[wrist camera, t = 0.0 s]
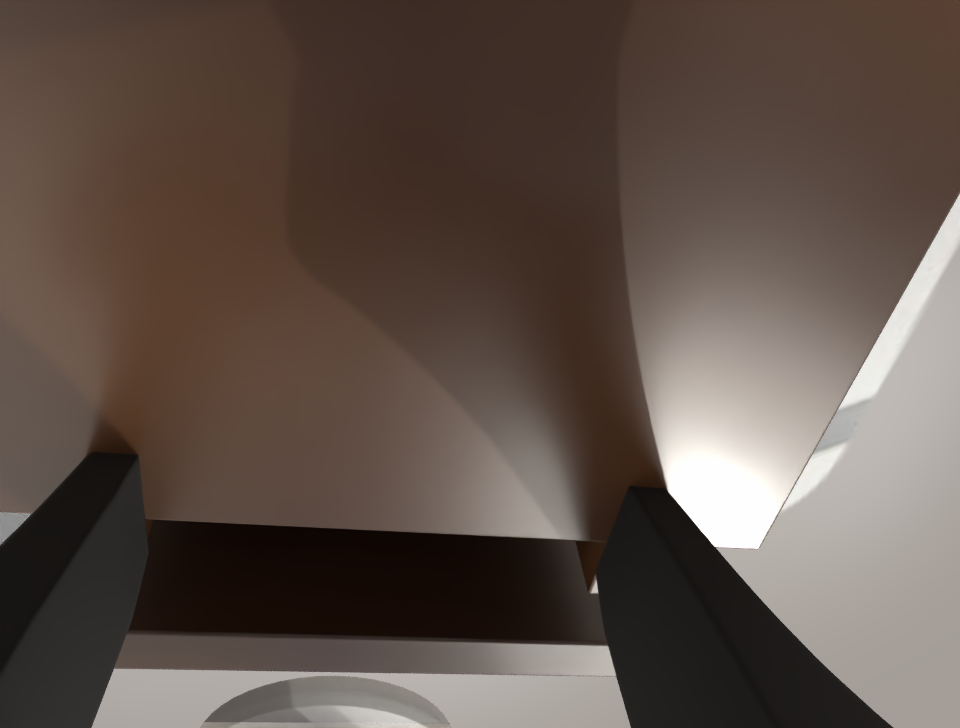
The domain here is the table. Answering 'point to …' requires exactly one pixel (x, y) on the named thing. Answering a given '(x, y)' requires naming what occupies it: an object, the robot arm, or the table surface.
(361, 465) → the cabinet
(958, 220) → the table surface
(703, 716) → the robot arm
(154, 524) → the drawer
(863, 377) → the table surface
